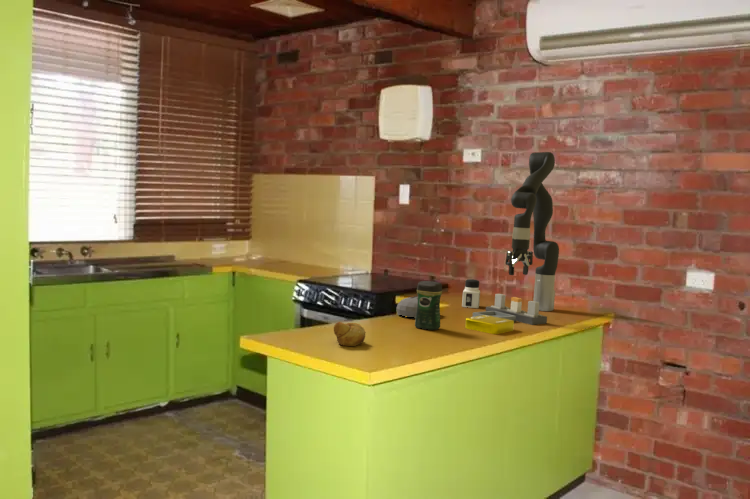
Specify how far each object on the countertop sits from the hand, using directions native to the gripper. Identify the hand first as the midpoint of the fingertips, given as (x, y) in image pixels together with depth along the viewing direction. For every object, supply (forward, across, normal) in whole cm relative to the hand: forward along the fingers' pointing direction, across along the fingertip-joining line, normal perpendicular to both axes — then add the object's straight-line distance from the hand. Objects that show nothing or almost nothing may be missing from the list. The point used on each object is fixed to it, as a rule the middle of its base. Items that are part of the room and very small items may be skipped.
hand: (518, 274), depth 303 cm
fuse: (+19, 0, +10) cm, 22 cm away
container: (+20, -1, -30) cm, 36 cm away
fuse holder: (+19, 0, 0) cm, 19 cm away
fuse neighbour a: (+19, 0, -10) cm, 22 cm away
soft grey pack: (+20, +40, -20) cm, 49 cm away
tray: (+19, +13, 0) cm, 23 cm away
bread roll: (+20, +96, +16) cm, 99 cm away
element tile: (+20, +29, +14) cm, 38 cm away
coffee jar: (+20, +53, +4) cm, 57 cm away
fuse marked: (+19, 0, 0) cm, 19 cm away
